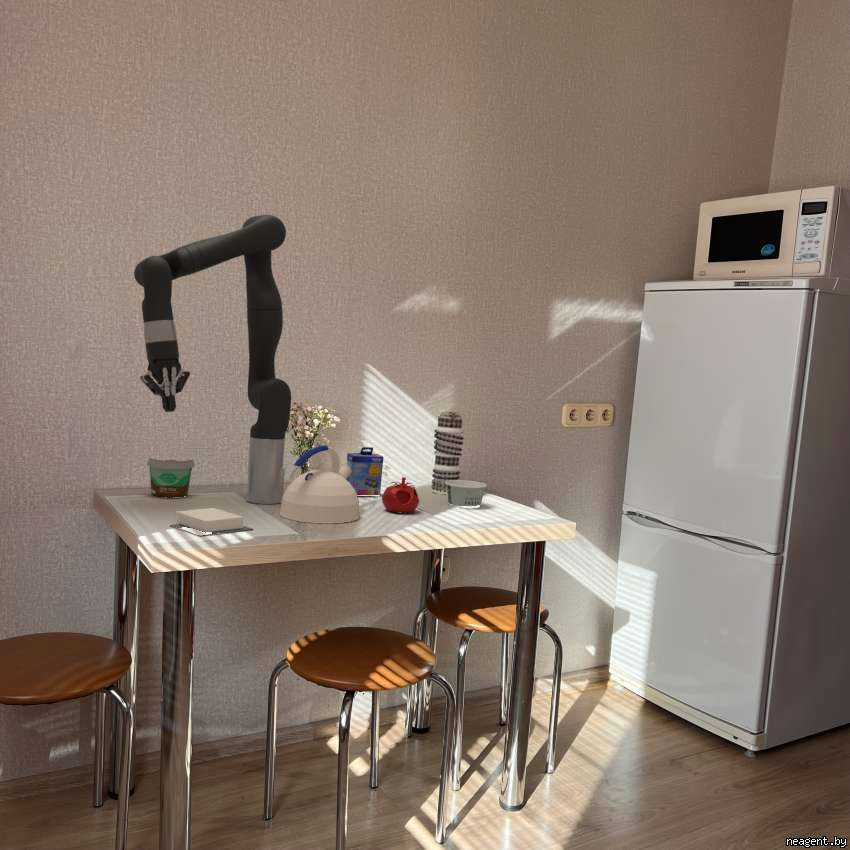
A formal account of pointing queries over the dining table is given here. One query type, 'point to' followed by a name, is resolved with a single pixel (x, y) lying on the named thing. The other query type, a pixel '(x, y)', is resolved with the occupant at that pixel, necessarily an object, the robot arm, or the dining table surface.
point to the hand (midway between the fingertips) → (170, 411)
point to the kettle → (321, 493)
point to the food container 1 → (170, 477)
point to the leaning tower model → (447, 449)
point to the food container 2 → (465, 492)
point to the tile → (209, 520)
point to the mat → (219, 531)
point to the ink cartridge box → (365, 471)
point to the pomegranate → (400, 497)
